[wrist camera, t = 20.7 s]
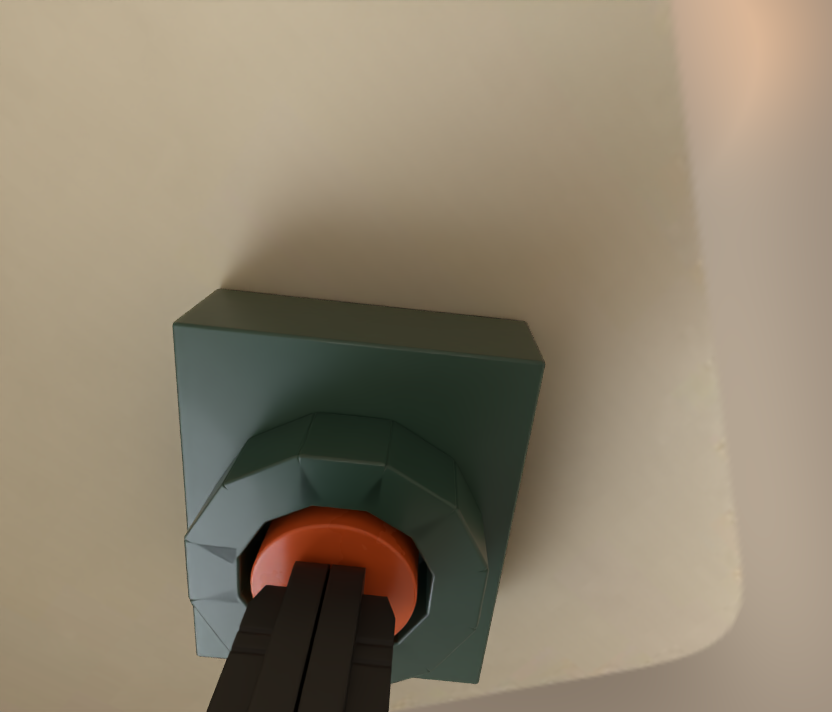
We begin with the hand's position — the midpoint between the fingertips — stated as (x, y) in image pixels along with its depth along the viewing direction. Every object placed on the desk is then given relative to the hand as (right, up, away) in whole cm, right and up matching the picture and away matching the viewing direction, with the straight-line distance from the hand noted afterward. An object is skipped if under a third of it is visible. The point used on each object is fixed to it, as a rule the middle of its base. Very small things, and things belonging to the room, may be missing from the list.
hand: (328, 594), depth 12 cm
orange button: (0, +1, +2) cm, 2 cm away
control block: (0, +2, +4) cm, 5 cm away
